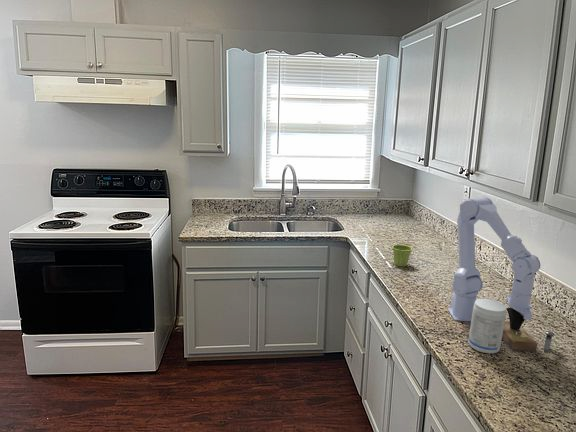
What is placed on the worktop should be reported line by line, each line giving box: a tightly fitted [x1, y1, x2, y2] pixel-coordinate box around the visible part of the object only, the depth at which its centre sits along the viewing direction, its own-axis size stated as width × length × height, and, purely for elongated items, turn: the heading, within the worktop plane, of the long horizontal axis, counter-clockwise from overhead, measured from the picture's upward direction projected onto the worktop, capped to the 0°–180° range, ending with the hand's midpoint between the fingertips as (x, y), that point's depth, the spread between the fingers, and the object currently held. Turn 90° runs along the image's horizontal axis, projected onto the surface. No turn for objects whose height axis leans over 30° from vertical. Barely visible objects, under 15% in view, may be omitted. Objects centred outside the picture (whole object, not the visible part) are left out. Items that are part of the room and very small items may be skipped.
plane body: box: [502, 320, 538, 353], centre depth 150 cm, size 15×8×3 cm, turn 176°
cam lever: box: [543, 330, 555, 354], centre depth 141 cm, size 2×12×6 cm, turn 147°
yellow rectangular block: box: [509, 329, 528, 342], centre depth 145 cm, size 5×4×2 cm
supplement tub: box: [467, 298, 508, 354], centre depth 143 cm, size 10×10×15 cm
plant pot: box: [391, 244, 413, 267], centre depth 219 cm, size 9×9×9 cm
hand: (514, 330), depth 149 cm, fingers closed
